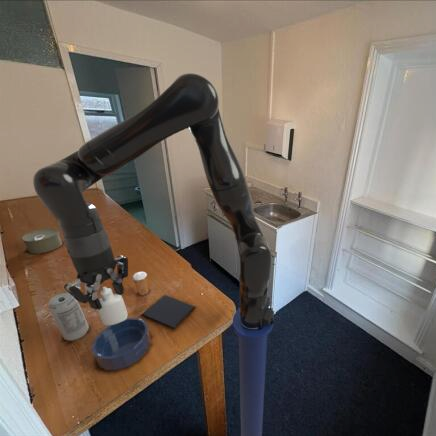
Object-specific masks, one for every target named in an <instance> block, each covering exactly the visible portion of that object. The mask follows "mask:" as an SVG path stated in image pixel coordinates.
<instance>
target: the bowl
mask: <svg viewBox="0 0 436 436" xmlns="http://www.w3.org/2000/svg"><path fill="white" fill-rule="evenodd" d="M150 345H151V335H150V330H149V326H148V324H147V323H146V321H145V320H143V319H141V318H137V317H135V318H134V317H129V318H128V317H127V319H126V320H124V321H122V322H120V323H117V324H114V325H107V326H106V328H104V329H103V330H102V331H101V332H99V334H98V335H97V336H96V338H95V339H94V341H93V344H92V347H91V351H92V353H93V356H94V357H95V360H96V362H97V364H98V367H99V368H101V369H103V370H105V371H118V370H121V369H124V368H128V367H129V366H131V365H132V364H134V363H135V362H137V361H138V360H140V359H141V358H142V357H143V356H144V355H145V354H146V352H147V351H148V349H149V347H150Z"/></svg>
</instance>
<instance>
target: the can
mask: <svg viewBox="0 0 436 436" xmlns="http://www.w3.org/2000/svg"><path fill="white" fill-rule="evenodd" d="M21 240H22V242H23V243H24V245H25V247H26V248H27V251H28V253H31V254H43V253H48V252H51V251H52V252H53V251H54V250H57V249H58V248H60V247H62V245H63V241H62V239H61V236H60V233H59V230H58V229H57V228H43V229H36V230H34V231H31V232H28V233H26V234H24V235H23V236H22V238H21Z"/></svg>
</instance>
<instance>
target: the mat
mask: <svg viewBox="0 0 436 436" xmlns="http://www.w3.org/2000/svg"><path fill="white" fill-rule="evenodd" d="M194 309H196V308H195V306H194V305H192V304H189V303H187V302H184V301H182V300H179V299H176V298H173V297H171V296H169V295H165V294H164V295H163V296H162V297H161V298H160V299H158V300H157V301H156V302H155V303H153V304H152V305H151V306H150V307H148V308H147V309H146V310H145V311H144V312H142V317H145V318H147V319H149V320H151V321H154V322H156V323H159V324H162V325H164V326H166V327H168V328H171V329H173V330H175V329H176V328H177V327H178V326H179V325H180V324H181V323H182V322H183V321H184V320H185V319H186V317H188V315H189V314H190V313H192V312H193V310H194Z"/></svg>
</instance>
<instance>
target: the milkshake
mask: <svg viewBox="0 0 436 436" xmlns="http://www.w3.org/2000/svg"><path fill="white" fill-rule="evenodd" d="M132 280H133V283H134V285H135V288H136V290H137V293H138V294H139V295H140V296H144V295H147V294H148V293H149V284H148V275H147V272H145V271H138V272H135V273H134V274H133V275H132Z"/></svg>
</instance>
